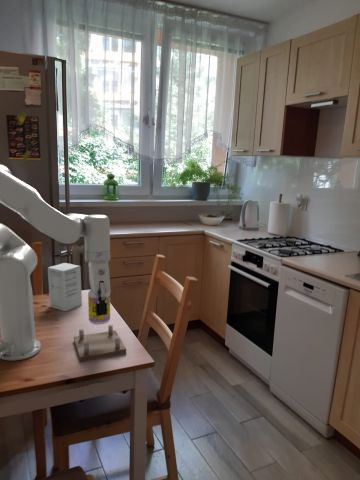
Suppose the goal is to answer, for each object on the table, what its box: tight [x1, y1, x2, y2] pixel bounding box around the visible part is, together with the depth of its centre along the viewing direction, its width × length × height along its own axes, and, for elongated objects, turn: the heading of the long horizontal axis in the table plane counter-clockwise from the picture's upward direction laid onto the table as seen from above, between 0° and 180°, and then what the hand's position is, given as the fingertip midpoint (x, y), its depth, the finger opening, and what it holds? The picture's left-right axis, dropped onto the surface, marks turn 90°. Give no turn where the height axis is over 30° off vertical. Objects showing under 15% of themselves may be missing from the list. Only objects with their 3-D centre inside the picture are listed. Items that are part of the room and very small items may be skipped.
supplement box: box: [47, 262, 83, 312], centre depth 150 cm, size 10×9×17 cm
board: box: [73, 324, 127, 363], centre depth 118 cm, size 14×14×4 cm
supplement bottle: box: [87, 288, 111, 325], centre depth 116 cm, size 7×7×13 cm
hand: (99, 309), depth 116 cm, fingers closed on supplement bottle, 6 cm apart
